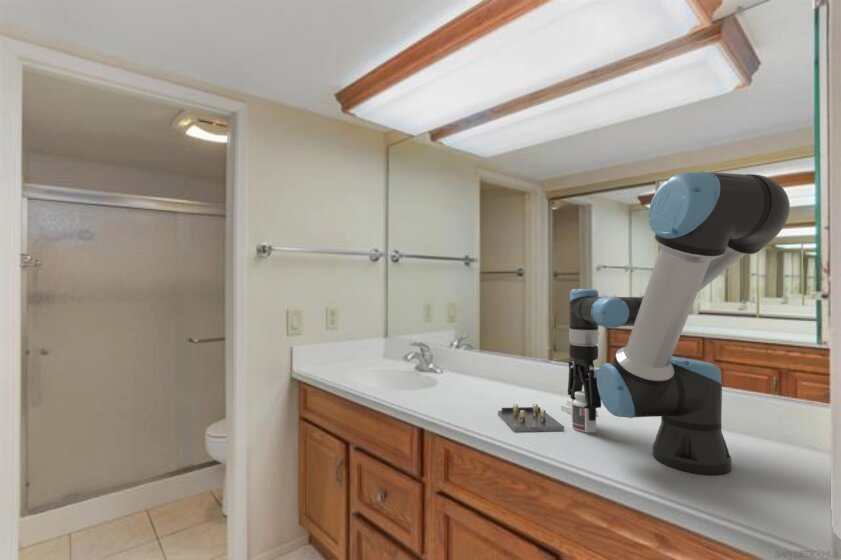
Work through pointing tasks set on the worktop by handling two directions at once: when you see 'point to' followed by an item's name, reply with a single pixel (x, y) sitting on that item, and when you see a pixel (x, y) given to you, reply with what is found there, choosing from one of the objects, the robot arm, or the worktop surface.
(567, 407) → the soap dish
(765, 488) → the worktop surface
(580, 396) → the pill bottle
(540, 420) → the plate
